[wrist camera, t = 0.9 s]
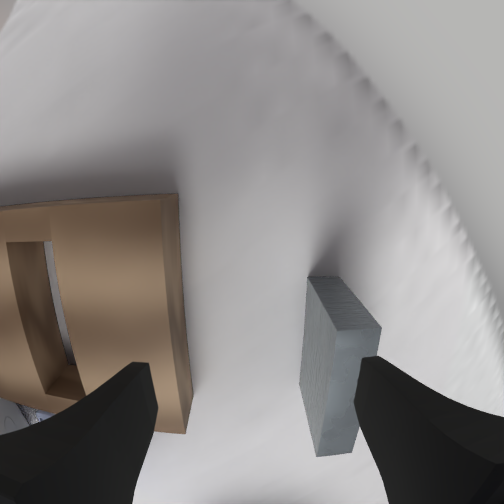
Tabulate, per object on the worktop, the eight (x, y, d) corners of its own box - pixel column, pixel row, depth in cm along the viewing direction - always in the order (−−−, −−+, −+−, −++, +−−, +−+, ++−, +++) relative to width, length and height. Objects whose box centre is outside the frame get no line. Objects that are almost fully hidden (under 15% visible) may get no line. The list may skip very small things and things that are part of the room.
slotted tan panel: (193, 396, 21) (185, 434, 17) (18, 371, 21) (-5, 396, 17) (178, 193, 18) (160, 199, 14) (-18, 208, 18) (-53, 217, 14)
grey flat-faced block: (326, 382, 21) (351, 452, 15) (299, 384, 21) (316, 456, 15) (338, 276, 19) (381, 327, 13) (307, 277, 19) (337, 330, 13)
